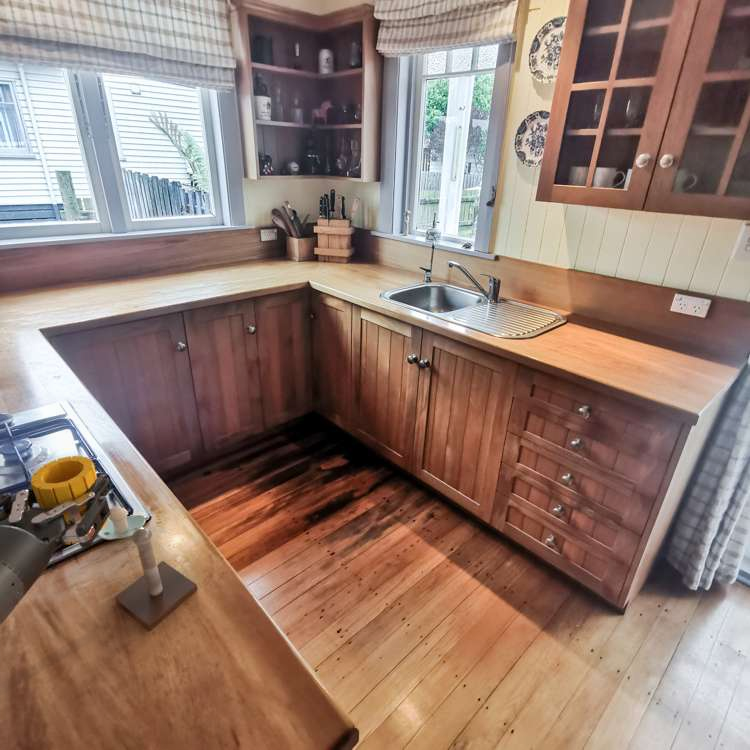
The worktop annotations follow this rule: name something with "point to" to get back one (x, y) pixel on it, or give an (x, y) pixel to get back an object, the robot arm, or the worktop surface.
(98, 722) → the worktop surface
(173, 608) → the stand
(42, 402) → the worktop surface
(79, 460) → the yellow grooved hollow cylinder
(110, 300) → the worktop surface
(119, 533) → the pacifier
